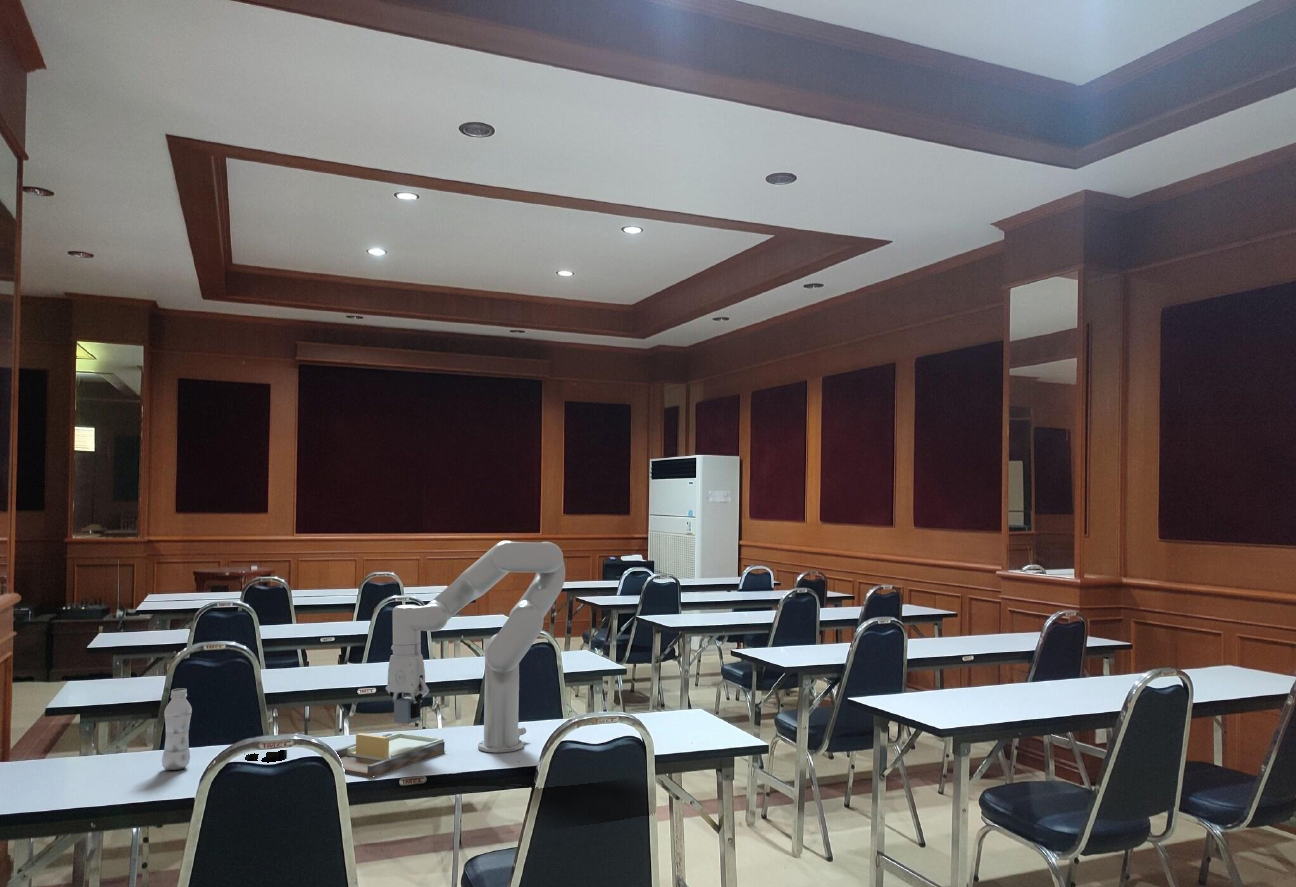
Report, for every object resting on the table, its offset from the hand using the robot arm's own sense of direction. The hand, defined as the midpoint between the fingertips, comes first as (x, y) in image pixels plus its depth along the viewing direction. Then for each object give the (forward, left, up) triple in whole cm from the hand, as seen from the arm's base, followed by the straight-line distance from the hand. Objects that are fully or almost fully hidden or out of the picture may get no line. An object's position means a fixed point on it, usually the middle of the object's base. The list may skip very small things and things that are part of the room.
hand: (407, 715), depth 252 cm
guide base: (+9, -1, -10) cm, 14 cm away
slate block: (0, 0, -1) cm, 1 cm away
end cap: (+30, -20, -10) cm, 38 cm away
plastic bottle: (+40, -41, -10) cm, 58 cm away
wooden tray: (+3, -1, -9) cm, 9 cm away
